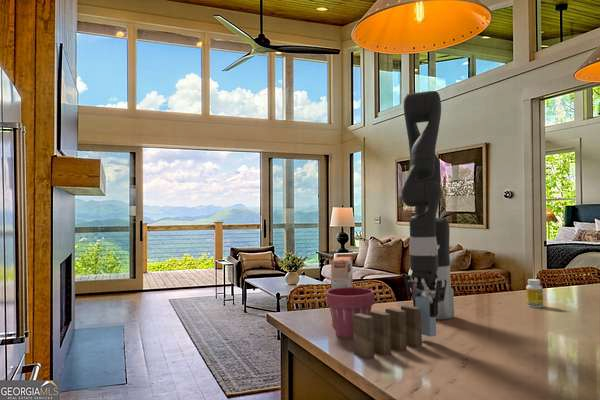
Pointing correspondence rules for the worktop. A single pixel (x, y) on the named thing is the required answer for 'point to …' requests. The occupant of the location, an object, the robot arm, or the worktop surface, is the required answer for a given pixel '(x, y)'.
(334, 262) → the cracker box
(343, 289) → the plant pot
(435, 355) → the worktop surface
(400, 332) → the domino
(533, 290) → the supplement bottle
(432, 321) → the domino
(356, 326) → the domino
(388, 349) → the domino
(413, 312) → the domino
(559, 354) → the worktop surface
